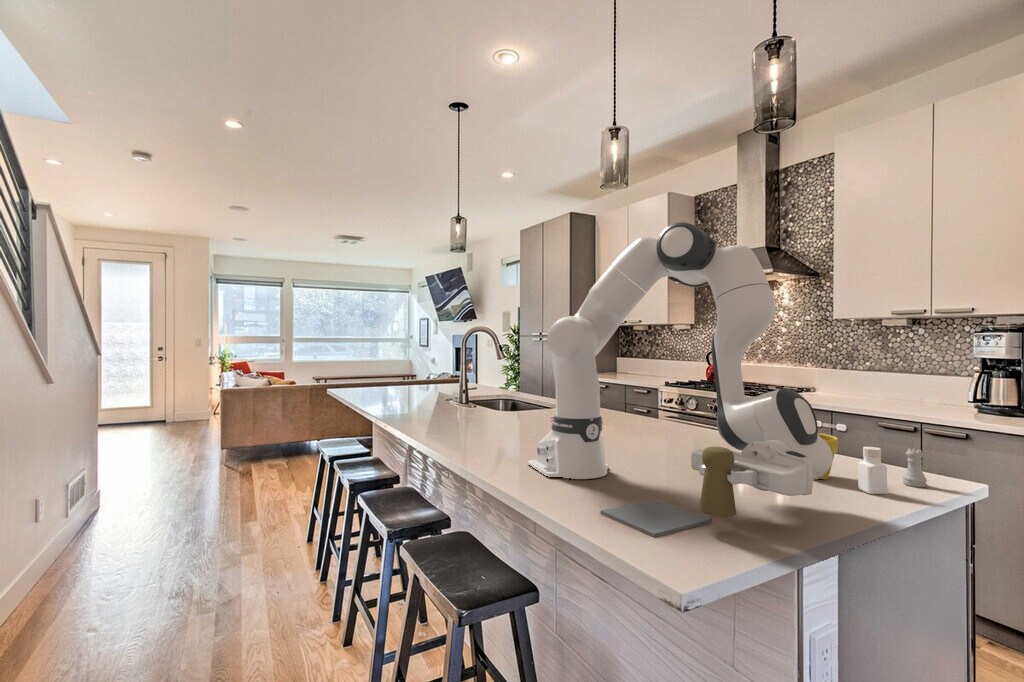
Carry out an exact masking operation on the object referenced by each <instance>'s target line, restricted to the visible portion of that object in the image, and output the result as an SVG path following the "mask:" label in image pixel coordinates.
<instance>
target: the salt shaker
mask: <svg viewBox="0 0 1024 682" xmlns="http://www.w3.org/2000/svg"><path fill="white" fill-rule="evenodd" d="M862 456H863V461H860V462H858V463H857V476H858V477H857V479H858V480H857V481H858V486H857V487H858V490H859V491H861V490H862V492H864V493H866V494H869V495H887V494H888V467H887V465H886V464H884V463H882V462H881V461H882V448H880V447H877V446H876V447H875V446H863V447H862Z"/></svg>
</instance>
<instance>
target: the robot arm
mask: <svg viewBox="0 0 1024 682" xmlns="http://www.w3.org/2000/svg"><path fill="white" fill-rule="evenodd" d="M665 277H667V278H668V279H669V280H670V281H673V282H676V283H678V284H681V285H682V286H683V285H684V286H687V287H690V288H703V287H706V286H708V285H709V286H710V289H711V292H712V295H713V299H714V303H715V307H716V323H715V324H716V326H715V331H714V333H713V335H712V338H711V344H710V345H711V359H712V366H713V368H712V369H713V374H714V383H715V391H716V401H717V411H716V413H717V414H716V426H717V431H718V433H719V435H720V437H721V438H722V440H724V441H725V443H727V444H728V445H729V446H731V447H732V448H734V449H736V450H738V451H741V452H738V451H733V450H731V451H732V453H733V455H734V464H733V466H732V467H731V471H730V472H727V473H726V481H727V482H728V483H730V484H733V486H734V485H739V484H742V485H747V486H751V487H753V488H754V489H757V490H759V491H763V492H771V493H774V494H775V493H776V494H779V495H783V496H787V497H788V496H789V497H790V496H791V497H794V496H795V497H796V496H808V495H812V493H813V485H814V480H815V479H817V478H819V477H821V476H822V475H824V474H825V473H826V472H827V471H828V469H829V468H830V466H831V464H832V465H833V462H832V452H831V449H830V447H829V445H828V444H827V443H826V442H825V440H823V439H822V438H821V437H820V436H819V435H818V433H819V428H818V425H819V424H818V420H817V417H816V414H815V411H814V409H813V407H812V405H811V404H810V402H809V401H808V400H807V399H806V398H805V397H804V396H802V395H801V394H800V393H799V392H797V391H795V390H793V389H791V388H787V387H781V388H778V389H776V390H773V391H768V392H766V393H765V392H764V393H762V394H760V395H756V396H753V397H750V398H747V399H746V395H745V389H744V381H743V373H742V360H743V357H744V354H745V353H746V351H747V349H749V347H750V346H751V345H752V344H753V343H754V342H755V341H756V340H757V339H758V338H759V337H760V336H761V335H763V333H764V332H765V331H766V330H767V329H768V328H769V327H770V325H771V323H772V322H773V319H774V317H775V314H776V305H775V300H774V299H775V298H774V296H773V292H772V289H771V286H770V284H769V280H768V278H767V276H766V272H765V271H764V268H763V267H762V264H761V263H760V260H759V259H758V258H757V255H756V254H755V252H754V251H753V250H752V249H751V248H749V246H746V245H741V244H734V245H729V246H725V247H718V246H717V242H716V240H715V239H713V238H712V237H711V236H710V235H708V234H707V233H706V232H705V231H704V230H702V229H701V228H699V227H698V226H696V225H694V224H693V223H689V222H684V221H683V222H675V223H673V224H670V225H668V226H667V227H665V228H664V229H663V230H662V232H660V234H659V235H658V238H657V239H656V238H655V237H652V236H644V235H643V236H641V237H638V238H636V239H635V240H634V241H633V242H632V243H631V244H629V245H628V246H627V247H625V249H624V250H623V251H621V253H620V254H619V255H618V256H617V257H616V258H615V259H614V261H612V262H611V264H610V265H609V266H608V267H607V269H606V270H605V271H604V272H603V273H602V275H601V276H600V277H599V278H598V279H597V280H596V282H595V283H593V285H592V287H591V288H590V289H589V291H588V293H587V295H586V298H585V299H584V301H583V302H582V304H581V306H580V307H579V309H578V310H577V312H576V313H575V314H574V315H567V316H564V317H562V318H559V319H558V320H557V321H555V322H554V323H552V325H551V326H550V327H549V330H548V331H547V335H546V343H547V347H548V349H549V352H550V361H551V365H552V366H551V367H552V373H553V376H554V377H553V378H554V385H555V388H554V389H555V415H554V416H553V417H550V419H552V420H550V423H552V424H551V428H550V429H551V430H550V431H549V432H548V433H547V434H546V435H545V436H544V437H543V438H542V439H541V440H540V441H538V443H537V446H536V458H533V459H529V460H528V461H527V465H528V464H529V465H531V466H532V467H534V468H535V469H536V470H538V471H539V472H538V471H537V472H538V473H540V472H541V473H542V474H541V473H540V474H541V475H543V474H544V475H546V476H548V477H547V478H549V477H563V478H562V479H569V478H571V480H589V479H597V478H601V477H604V476H607V475H608V470H609V469H608V468H609V467H610V466H609V463H607V460H606V449H605V440H604V439H605V438H604V437H603V435H602V433H601V432H602V431H603V418H602V416H601V383H600V381H599V376H598V370H597V363H596V362H597V360H596V357H597V355H598V354H599V353H600V352H601V351H602V350H603V348H604V347H605V346H606V345H607V343H608V342H609V340H611V338H612V337H613V336H614V334H615V332H617V329H618V328H619V327H620V326H621V324H622V323H623V322H624V320H625V319H626V318H627V316H629V314H630V313H631V312H632V310H634V308H635V307H636V306H637V304H638V303H639V302H640V301H641V300H643V298H644V296H645V295H646V294H647V293H649V291H650V290H651V288H652V287H653V286H654V285H655V284H656V283H657V282H658V281H659V280H660V279H662V278H665ZM704 449H705V448H701V449H699V448H698V449H694V450H692V451H691V454H690V466H691V469H693V470H695V471H698V473H699V475H700V476H703V477H704V472H705V465H704V463H703V461H702V453H703V450H704ZM529 465H528V466H529ZM532 467H531V468H532ZM831 467H832V466H831ZM535 469H534V470H535ZM536 470H535V471H536ZM544 475H543V476H544ZM546 476H545V477H546ZM815 481H816V480H815Z"/></svg>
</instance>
